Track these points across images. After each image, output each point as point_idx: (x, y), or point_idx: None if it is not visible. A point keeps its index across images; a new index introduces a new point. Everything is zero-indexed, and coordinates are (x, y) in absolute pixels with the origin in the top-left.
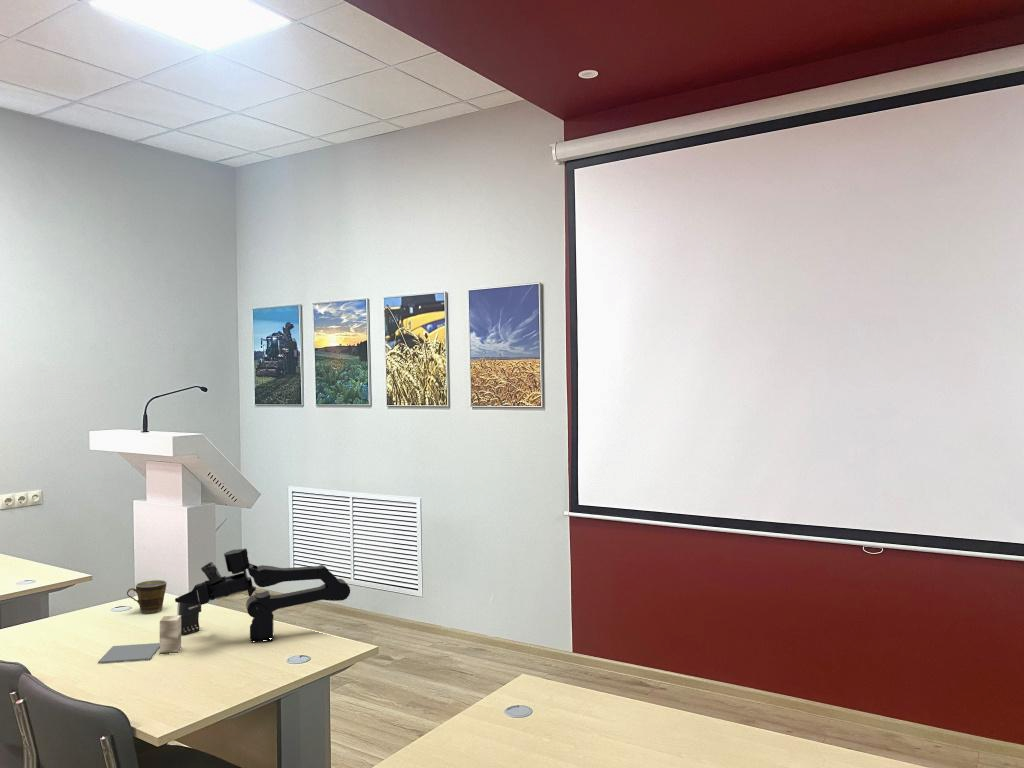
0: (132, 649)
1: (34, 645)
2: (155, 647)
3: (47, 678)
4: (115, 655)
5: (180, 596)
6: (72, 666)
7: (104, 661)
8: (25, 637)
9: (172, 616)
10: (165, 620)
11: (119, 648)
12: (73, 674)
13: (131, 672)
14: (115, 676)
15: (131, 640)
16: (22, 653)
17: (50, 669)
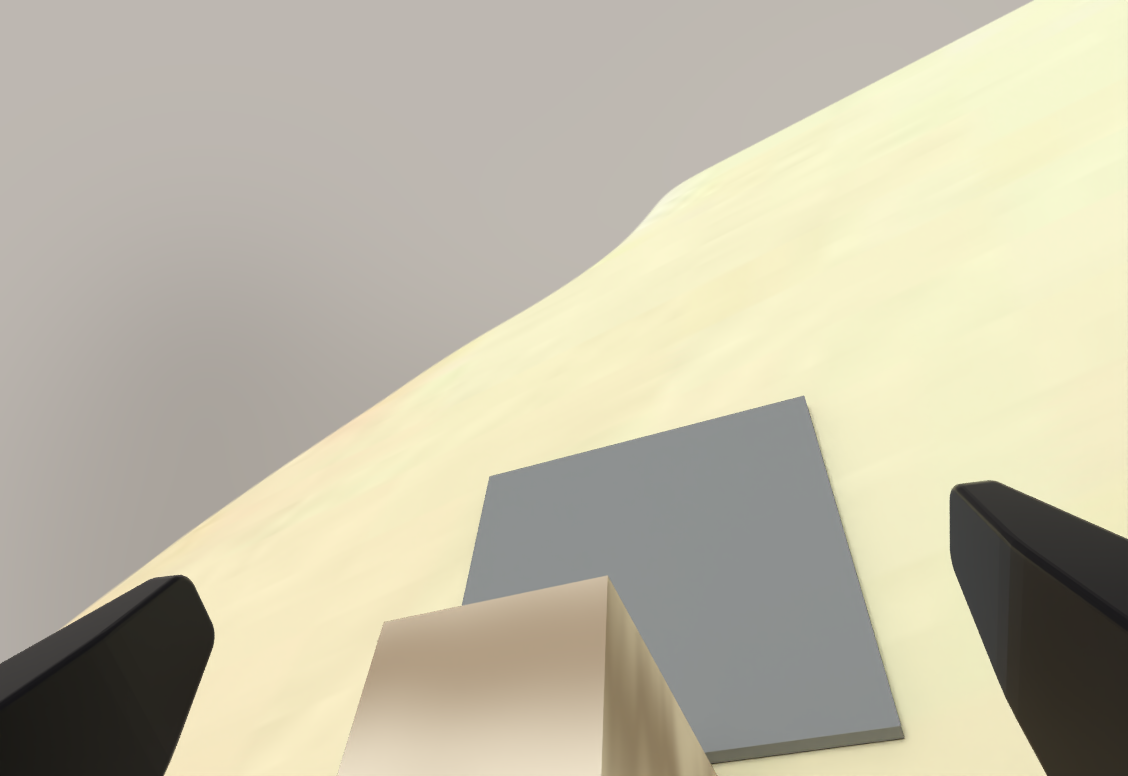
0: (701, 549)
1: (864, 134)
2: (731, 719)
3: (376, 405)
4: (580, 507)
5: (4, 665)
6: (501, 403)
7: (484, 505)
8: (987, 54)
9: (564, 708)
10: (379, 686)
11: (738, 457)
12: (375, 466)
13: (223, 759)
14: (213, 684)
15: (1020, 421)
16: (748, 171)
17: (494, 353)
